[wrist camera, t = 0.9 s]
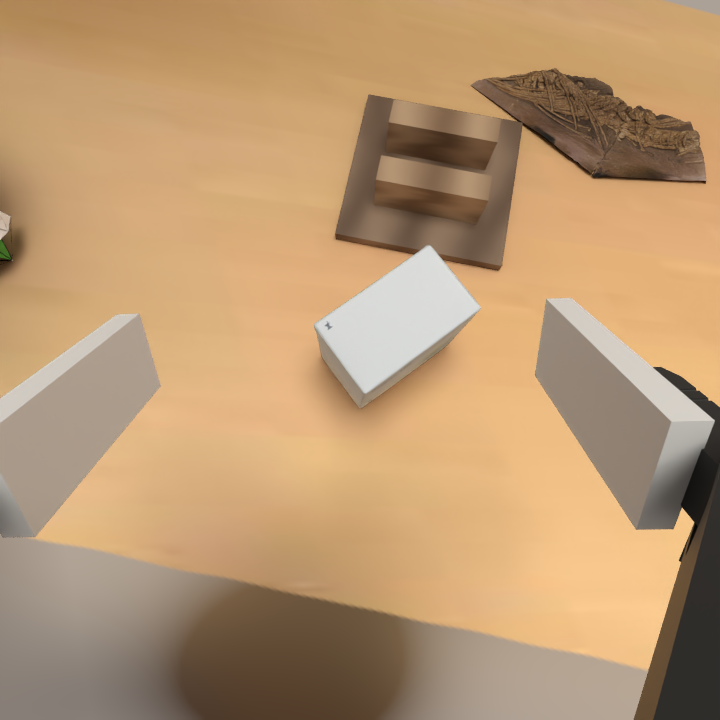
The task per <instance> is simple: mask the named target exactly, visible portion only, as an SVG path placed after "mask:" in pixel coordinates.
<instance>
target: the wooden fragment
mask: <svg viewBox="0 0 720 720" xmlns="http://www.w3.org/2000/svg"><path fill="white" fill-rule="evenodd" d="M471 86H473V87H474V88H475V89H477V90H478V91H479V92H481V93H482V94H484V95H485V96H486V97H488V98H489V99H491V100H492V101H494V102H495V103H496V104H498V105H499V106H501V107H502V108H503V109H505V110H506V111H508V112H509V113H510V114H511V115H513V116H514V117H515V118H517V119H519V120H520V121H522V122H523V123H524V124H526V125H527V126H529V127H530V128H532V129H534V130H535V131H536V132H538V133H540V134H541V135H542V136H544V137H545V138H546V139H547V140H549V141H551V142H552V143H553V144H554V145H555V146H557V147H558V148H559V149H560V150H562V151H563V152H564V153H566V154H567V155H568V156H570V157H571V158H573V159H574V161H575V160H576V162H579V164H580V165H581V166H583V167H584V168H585V169H587V170H588V171H589V172H590V173H591V174H592V172H593V171H594V170H595V169H596V171H595V172H594V174H593V176H594V177H603V176H614V177H630V178H634V177H636V178H651V179H666V180H682V181H690V180H691V181H696V180H698V181H705V184H706V173H705V163H704V157H703V154H702V151H701V148H700V147H699V146H700V142H699V140H700V139H699V138H700V136H699V134H698V132H697V131H695V130H693V127H692V124H691V122H689V121H688V122H683V121H681V120H680V119H679V120H678V119H676V118H673V117H671V116H667V115H659V116H656V115H655V114H654V113H652V111H651V110H648V109H643V108H642V107H641V106H637V107H636V108H634V109H633V110H632V107H630V106H627V104H626V103H625V102H624V101H622V100H621V99H620V98H618V97H614V96H613V90H612V88H611V87H610V86H609V85H607V84H605V83H604V82H601V81H599V80H597V79H596V78H584V77H578V76H573V77H572V76H570V75H565V74H562V73H560V72H559V71H558V70H557V69H556V68H554V69H551V70H548V71H544V70H542V71H533V72H530V73H528V74H519V75H513V76H510V77H507V78H498V77H496V78H489V79H483V80H478V81H476V82H475V83H473V84H472V85H471Z"/></svg>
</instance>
